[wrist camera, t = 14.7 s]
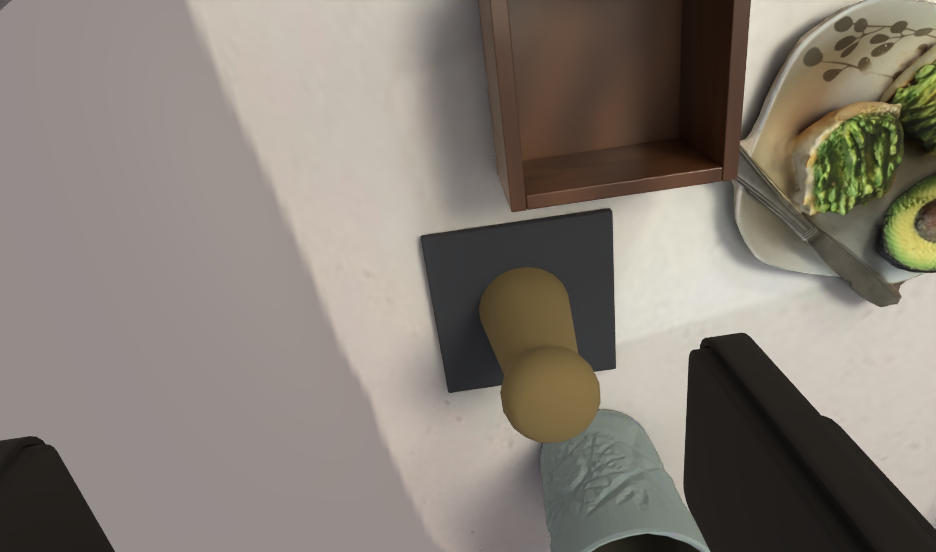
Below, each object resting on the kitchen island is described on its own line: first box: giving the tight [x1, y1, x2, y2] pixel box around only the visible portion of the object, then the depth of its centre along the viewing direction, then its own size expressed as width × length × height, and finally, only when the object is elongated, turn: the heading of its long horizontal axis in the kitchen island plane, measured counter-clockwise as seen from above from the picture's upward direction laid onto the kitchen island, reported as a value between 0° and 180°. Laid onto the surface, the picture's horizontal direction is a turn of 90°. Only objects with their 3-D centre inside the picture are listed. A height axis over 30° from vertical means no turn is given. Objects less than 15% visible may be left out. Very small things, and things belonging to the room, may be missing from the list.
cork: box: [479, 267, 600, 443], centre depth 35 cm, size 6×6×11 cm
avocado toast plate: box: [731, 0, 936, 307], centre depth 35 cm, size 19×18×5 cm
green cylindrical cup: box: [540, 410, 710, 552], centre depth 41 cm, size 10×10×12 cm
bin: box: [478, 0, 751, 212], centre depth 31 cm, size 12×12×7 cm
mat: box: [421, 208, 616, 393], centre depth 40 cm, size 12×12×1 cm
